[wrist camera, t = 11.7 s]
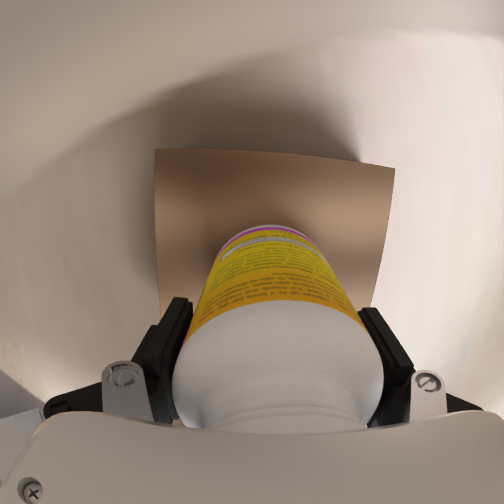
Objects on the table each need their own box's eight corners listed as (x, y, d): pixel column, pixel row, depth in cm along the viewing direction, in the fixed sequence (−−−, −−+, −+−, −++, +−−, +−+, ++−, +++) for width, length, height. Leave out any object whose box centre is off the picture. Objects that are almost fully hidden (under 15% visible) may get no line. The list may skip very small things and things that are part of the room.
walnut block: (336, 320, 25) (353, 362, 19) (183, 311, 25) (165, 352, 19) (361, 164, 20) (395, 168, 15) (182, 150, 20) (155, 149, 15)
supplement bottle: (199, 235, 16) (75, 424, 4) (317, 211, 15) (464, 374, 3) (228, 333, 18) (198, 530, 6) (330, 315, 17) (398, 504, 5)
